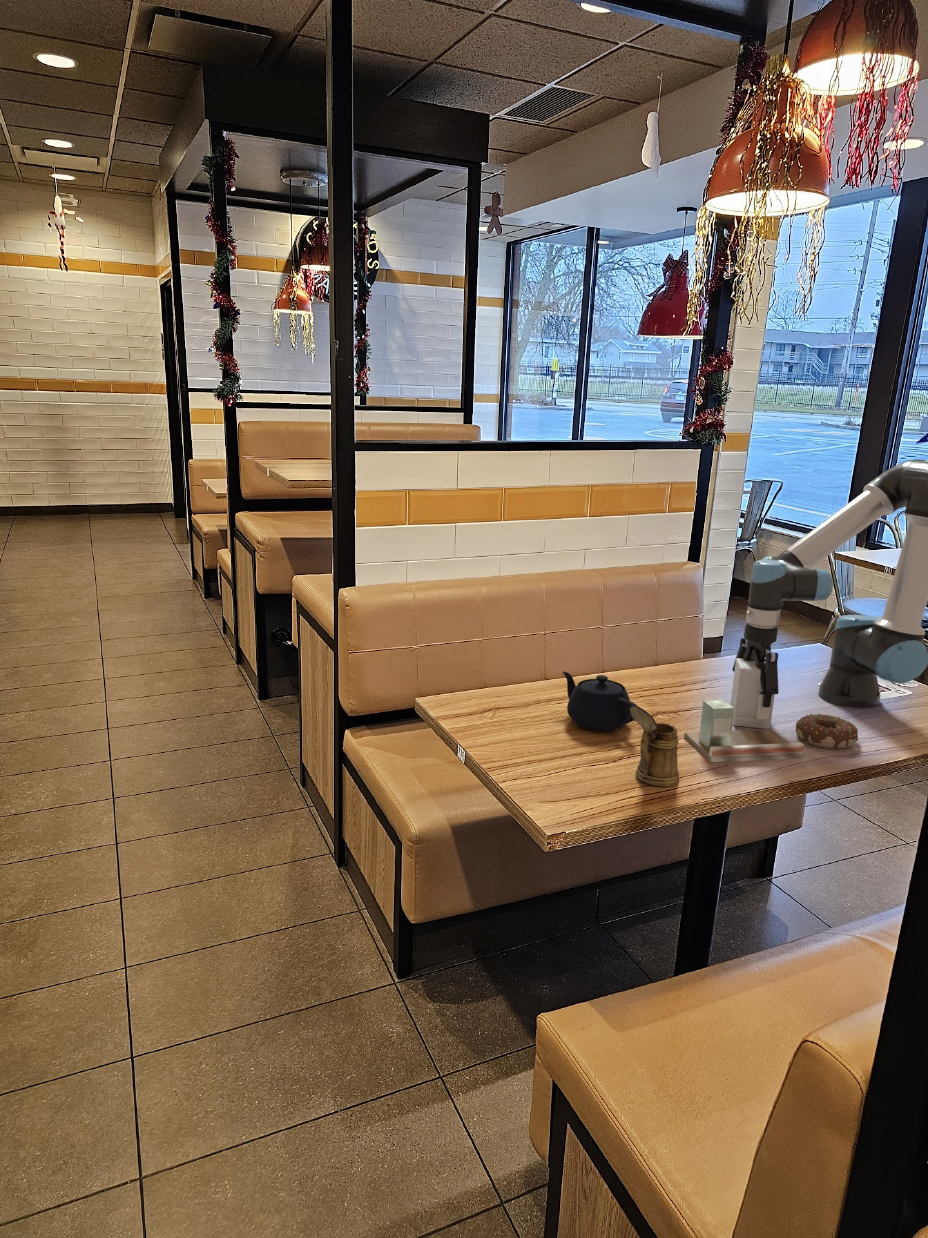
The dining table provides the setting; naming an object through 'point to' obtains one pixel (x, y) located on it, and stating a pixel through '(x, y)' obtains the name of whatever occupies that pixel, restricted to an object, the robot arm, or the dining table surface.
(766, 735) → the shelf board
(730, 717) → the tea tin
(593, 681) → the teapot
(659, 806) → the dining table surface
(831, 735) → the donut
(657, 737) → the wooden mug
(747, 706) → the supplement box
